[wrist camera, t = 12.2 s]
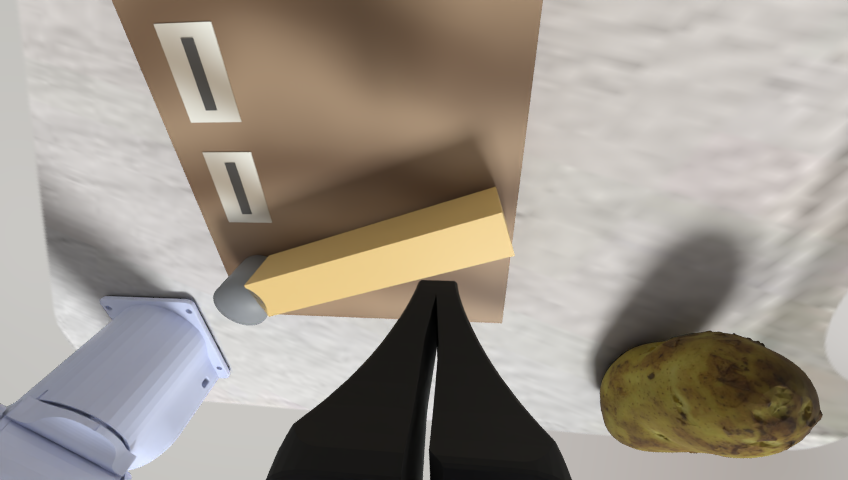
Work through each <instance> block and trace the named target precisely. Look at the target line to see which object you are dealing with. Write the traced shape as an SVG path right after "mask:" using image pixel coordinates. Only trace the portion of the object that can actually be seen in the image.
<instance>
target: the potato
mask: <svg viewBox="0 0 848 480" xmlns="http://www.w3.org/2000/svg"><path fill="white" fill-rule="evenodd" d="M600 404H601V411H602V415H603V419H604V423H605V426H606V428H607V430H608V431H609V432H610V434H611V435H612V436H613V437H614V438H615V439H617V440H618V441H619V442H621V443H622V444H625V445H627V446H629V447H632V448H635V449H638V450H642V451H649V452H690V453H709V454H715V455H720V456H723V457H731V458H756V457H763V456H769V455H772V454H776V453H779V452H782V451H784V450H787V449H789V448H790V447H792V446H794V445H795V444H797V443H798V442H800V441H802V440H803V439H804V438H805V437H806V435H807V434H809V433H810V431H811V429H812V428H813V427H814V426H815V425H816V424H817V422H818V421H820V420H821V418H822V415H823V414H822V412H821V410H820V405H819V398H818V395H817V392H816V390H815V388H814V386H813V384H812V382H811V380H810V379H809V378H808V376H807V375H806V374H805V373H804V372H803V371H802V370H801V369H800V368H799V367H798V366H797V365H795V364H794V363H793V362H792V361H790V360H789V359H787V358H785V357H784V356H782V355H780V354H778V353H776V352H774V351H772V350H770V349H768V348H766V347H765V346H764V344H763V343H760V342H759V341H753V340H752V339H751V338H745V337H742V336H738V335H736V334H735V333H733V334H728V333H722V332H712V331H706V332H701V333H692V334H686V335H682V336H678V337H674V338H671V339H669V340H667V341H662V342H653V343H648V344H644V345H640V346H637V347H634V348H632V349H630V350H629V351H627V352H625V353H624V354H623V355H621V356H620V357H619V358H618V359H617V360H616V361H615V362H614V363H613V364H612V365H611V366H610V367H609V369H608V370H607V372H606V374H605V375H604V378H603V380H602V383H601V387H600Z"/></svg>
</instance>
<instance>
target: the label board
mask: <svg viewBox="0 0 848 480" xmlns="http://www.w3.org/2000/svg"><path fill="white" fill-rule="evenodd" d="M112 2H113V4H114V6H115V9H116V11H117V14H118V16H119V18H120V21H121V23H122V25H123V28H124V30H125V33H126V35H127V37H128V40H129V42H130V44H131V47H132V49H133V51H134V54H135V56H136V59H137V61H138V63H139V66H140V68H141V70H142V73H143V75H144V77H145V80H146V82H147V85H148V87H149V89H150V92H151V94H152V96H153V99H154V101H155V103H156V106H157V108H158V111H159V113H160V115H161V118H162V120H163V122H164V125H165V127H166V130H167V132H168V134H169V137H170V139H171V141H172V144H173V146H174V148H175V151H176V153H177V156H178V158H179V160H180V163H181V165H182V167H183V170H184V172H185V174H186V177H187V179H188V182H189V184H190V186H191V189H192V191H193V193H194V196H195V198H196V201H197V203H198V205H199V208H200V210H201V212H202V215H203V217H204V219H205V222H206V224H207V227H208V229H209V231H210V234H211V236H212V238H213V241H214V243H215V245H216V248H217V250H218V253H219V255H220V257H221V260H222V262H223V264H224V267H225V269H226V271H227V274H228V276H230V275H231V274H232V273H233V271H234V270H235V269H236V268H237V267H238V266H239V265H240V264H241V263H242V262H243V261H244V260H245V259H246V258H247V257H249V256H253V255H262V256H266V257H268V256H269V255H273V254H276V253H279V252H283V251H286V250H289V249H292V248H296V247H299V246H302V245H306V244H309V243H312V242H315V241H319V240H322V239H325V238H329V237H332V236H335V235H338V234H342V233H345V232H348V231H352V230H355V229H358V228H361V227H365V226H368V225H371V224H375V223H378V222H381V221H384V220H388V219H391V218H394V217H398V216H401V215H404V214H407V213H411V212H414V211H417V210H420V209H424V208H427V207H430V206H434V205H437V204H440V203H443V202H447V201H450V200H453V199H457V198H460V197H463V196H466V195H470V194H473V193H476V192H480V191H483V190H486V189H489V188H493V187H496V189H497V192H498V196H499V199H500V203H501V206H502V209H503V213H504V216H505V220H506V223H507V227H508V231H509V235H510V239H511V243H512V239H513V231H514V224H515V216H516V208H517V200H518V192H519V184H520V176H521V168H522V160H523V153H524V145H525V137H526V129H527V121H528V113H529V105H530V97H531V89H532V81H533V74H534V66H535V58H536V50H537V42H538V34H539V26H540V18H541V10H542V3H543V0H112ZM509 263H510V257H507V258H503V259H499V260H495V261H491V262H487V263H483V264H479V265H475V266H471V267H467V268H463V269H459V270H455V271H451V272H447V273H443V274H439V275H435V276H431V277H427V278H423V279H419V280H415V281H411V282H407V283H403V284H399V285H394V286H390V287H386V288H382V289H378V290H374V291H370V292H366V293H362V294H358V295H354V296H350V297H346V298H342V299H338V300H334V301H330V302H326V303H322V304H318V305H314V306H310V307H306V308H302V309H298V310H294V311H290V312H286V313H282V314H284V315H310V316H335V317H360V318H385V319H399V318H400V316H401V315H402V313H403V311H404V310H405V308H406V306H407V305H408V303H409V301H410V299H411V298H412V296H413V294H414V292H415V289H416V287H417V285H418V282H419V281H421V280H441V281H455V282H456V283H457V284H458V291H459V295H460V299H461V302H462V305H463V307H464V310H465V313H466V315H467V317H468V320H469V322H485V323H502V318H503V310H504V302H505V295H506V287H507V279H508V271H509Z"/></svg>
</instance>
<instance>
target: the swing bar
mask: <svg viewBox="0 0 848 480" xmlns="http://www.w3.org/2000/svg"><path fill="white" fill-rule="evenodd" d="M511 256H515V255H514V251H513V247H512V243H511V239H510V235H509V231H508V227H507V223H506V220H505V216H504V213H503V209H502V206H501V203H500V199H499V196H498V192H497V189H496V187H493V188H489V189H486V190H483V191H480V192H476V193H473V194H470V195H466V196H463V197H460V198H457V199H453V200H450V201H447V202H443V203H440V204H437V205H434V206H430V207H427V208H424V209H420V210H417V211H414V212H411V213H407V214H404V215H401V216H398V217H394V218H391V219H388V220H384V221H381V222H378V223H375V224H371V225H368V226H365V227H361V228H358V229H355V230H352V231H348V232H345V233H342V234H338V235H335V236H332V237H329V238H325V239H322V240H319V241H315V242H312V243H309V244H306V245H302V246H299V247H296V248H292V249H289V250H286V251H283V252H279V253H276V254H273V255H269V256H268V257H266V256H262V255H253V256H249V257H247V258H246V259H245V260H244V261H243V262H242V263H241V264H240V265H239V266H238V267H237V268H236V269H235V270H234V271H233V273H232V274H231V275H230V276H229V277H228V278H227V279H226V280H225V281H224V282H223V283H222V284H221V286H220V287H219V288H218V289H217V290H216V291H215V293H214V296H213V299H214V303H215V306H216V307H217V309H218V310H219V311H220V312H221V313H222V314H223V315H224V316H225V317H227V318H228V319H230V320H232V321H234V322H236V323H239V324H243V325H257V324H259V323H261V322H263V321H264V320H265V319H266V317H267V316H269V317H270V316H274V315H278V314H282V313H286V312H290V311H294V310H298V309H302V308H306V307H310V306H314V305H318V304H322V303H326V302H330V301H334V300H338V299H342V298H346V297H350V296H354V295H358V294H362V293H366V292H370V291H374V290H378V289H382V288H386V287H390V286H394V285H399V284H403V283H407V282H411V281H415V280H419V279H423V278H427V277H431V276H435V275H439V274H443V273H447V272H451V271H455V270H459V269H463V268H467V267H471V266H475V265H479V264H483V263H487V262H491V261H495V260H499V259H503V258H507V257H511Z"/></svg>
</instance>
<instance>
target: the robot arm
mask: <svg viewBox="0 0 848 480" xmlns="http://www.w3.org/2000/svg"><path fill="white" fill-rule="evenodd" d="M100 304H101V305H102V306H103V308H104V309H105V311H106V312H107V313H108V315H109V316H110V318H111V319H112V321H111V322H110V323H108V324H107V325H106V326H105V327H104V328H103V329H101V330H100V331H99V332H98V333H97V334H95V335H94V336H93V337H92V338H91V339H90V340H88V341H87V342H86V343H85V344H84V345H82V346H81V347H80V348H79V349H78V350H77V351H75V352H74V353H73V354H72V355H71V356H69V357H68V358H67V359H66V360H65V361H64V362H62V363H61V364H60V365H59V366H58V367H56V368H55V369H54V370H53V371H52V372H51V373H49V374H48V375H47V376H46V377H45V378H44V379H42V380H41V381H40V382H39V383H38V384H36V385H35V386H34V387H33V388H32V389H31V390H29V391H28V392H27V393H26V394H25V395H23V396H22V397H21V398H20V399H19V400H18V401H16V402H15V403H13V404H11V405H9V406H7V407H6V406H4V405H2V404H1V403H0V480H132V476H131V474H130V473H129V472H127V471H128V470H132V469H136V468H139V467H141V466H143V465H145V464H147V463H149V462H151V461H152V460H154V459H155V458H157V457H158V456H160V455H161V454H162V453H163V452H165V451H166V450H167V449H168V448H169V447H170V446H171V445H172V444H173V443H174V442H175V440H176V439H177V438H178V437H179V435H180V434H181V432H182V431H183V429H184V428H185V427H186V425H187V424H188V422H189V421H190V419H191V418H192V416H193V415H194V414H195V412H196V411H197V409H198V408H199V406H200V405H201V403H202V402H203V400H204V399H205V397H206V396H207V394H208V393H209V392H210V390H211V389H212V387H213V386H214V384H215V383H216V381H217V380H218V378H228V377H229V375H230V374H231V373H230V371H229V369H228V367H227V365H226V363H225V361H224V359H223V357H222V355H221V353H220V351H219V349H218V348H217V346H216V344H215V342H214V340H213V338H212V336H211V334H210V332H209V330H208V328H207V326H206V324H205V322H204V320H203V319H202V317H201V315H200V313H199V311H198V309H197V307H196V305H195V303H194V302H193V301H192V300H189V299H171V298H143V297H116V296H104V297H103V298H101V299H100ZM436 350H437V358H438V360H437V372H436V384H435V395H434V406H433V417H432V427H431V436H430V446H429V460H430V480H572V479H571V477H570V474H569V471H568V468H567V466H566V463H565V461H564V459H563V456H562V454H561V452H560V450H559V448H558V446H557V444H556V442H555V441H554V440H553V439H552V438H551V437H550V435H548V433H547V432H546V431H545V430H544V429H543V428H542V427H541V426H540V425H539V424H538V423H537V421H536V420H535V419H534V418H533V417H532V416H531V415H530V414H529V412H528V411H527V410H526V409H525V408H524V406H523V405H522V404H521V403H520V402H519V400H518V399H517V398H516V396H515V395H514V394H513V393H512V391H511V390H510V389H509V387H508V386H507V385H506V383H505V382H504V381H503V379H502V378H501V377H500V375H499V374H498V372H497V371H496V369H495V368H494V366H493V365H492V363H491V361H490V360H489V358H488V357H487V355H486V353H485V351H484V350H483V348H482V346H481V344H480V343H479V341H478V339H477V337H476V335H475V333H474V331H473V329H472V327H471V324H470V322H469V320H468V317H467V315H466V313H465V310H464V307H463V305H462V302H461V299H460V295H459V291H458V284H457V283H456V282H455V281H441V280H421V281H419V282H418V285H417V287H416V289H415V292H414V294H413V296H412V298H411V299H410V301H409V303H408V305H407V306H406V308H405V310H404V311H403V313H402V315H401V316H400V318H399V319H398V321H397V322H396V324H395V325H394V327H393V328H392V329H391V331H390V332H389V334H388V335H387V336H386V338H385V339H384V340H383V342H382V343H381V344H380V345H379V347H378V348H377V349H376V350H375V351H374V352H373V354H372V355H371V356H370V357H369V358H368V359H367V360H366V361H365V362H364V363H363V365H362V366H361V367H360V368H359V369H358V370H357V371H356V372H355V373H354V374H353V375H352V376H351V377H350V378H349V379H348V380H347V381H345V382H344V383H343V384H342V385H341V386H340V387H339V388H338V389H336V390H335V391H334V392H333V393H332V394H331V395H330V396H329V397H327V398H326V399H325V400H324V401H323V402H321V403H320V404H319V405H318V406H316V407H315V408H314V409H312V410H311V411H310V412H309V413H307V414H306V415H305V416H303V417H302V418H301V419H299V420H298V421H297V422H296V423H294V424H293V425H292V427H291V429H290V430H289V432H288V434H287V435H286V437H285V439H284V441H283V443H282V445H281V447H280V448H279V450H278V452H277V455H276V457H275V459H274V462H273V464H272V466H271V469H270V471H269V474H268V476H267V479H266V480H423V465H424V449H425V448H424V447H425V434H426V419H427V409H428V401H429V394H430V388H431V382H432V375H433V369H434V363H435V356H436Z"/></svg>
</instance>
